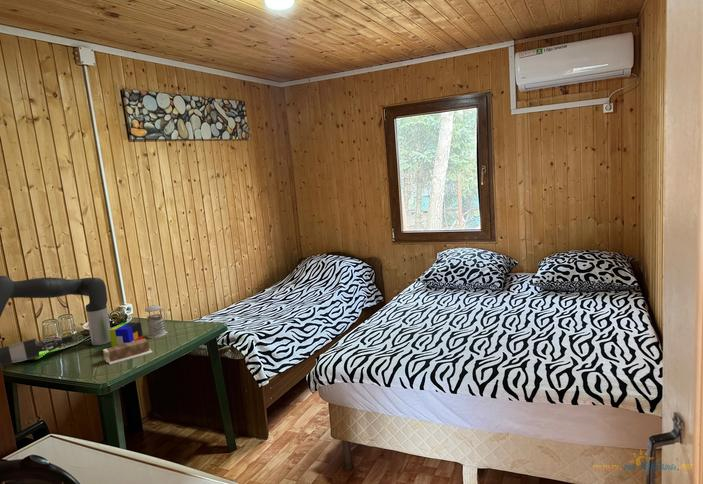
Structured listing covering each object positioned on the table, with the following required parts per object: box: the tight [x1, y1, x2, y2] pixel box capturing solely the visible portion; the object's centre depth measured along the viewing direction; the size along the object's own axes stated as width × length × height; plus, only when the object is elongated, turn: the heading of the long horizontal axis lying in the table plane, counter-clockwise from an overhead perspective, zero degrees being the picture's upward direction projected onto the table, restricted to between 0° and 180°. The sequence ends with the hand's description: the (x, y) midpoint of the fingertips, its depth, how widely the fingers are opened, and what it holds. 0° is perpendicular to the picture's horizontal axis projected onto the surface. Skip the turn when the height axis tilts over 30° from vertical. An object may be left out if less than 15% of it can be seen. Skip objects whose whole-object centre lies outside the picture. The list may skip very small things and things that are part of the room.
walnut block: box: [102, 338, 151, 363], centre depth 218 cm, size 4×6×18 cm
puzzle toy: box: [109, 321, 144, 347], centre depth 232 cm, size 10×10×10 cm
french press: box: [144, 286, 168, 339], centre depth 245 cm, size 10×12×25 cm
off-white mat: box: [107, 347, 153, 366], centre depth 219 cm, size 18×12×1 cm, turn 126°
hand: (72, 338), depth 206 cm, fingers closed
